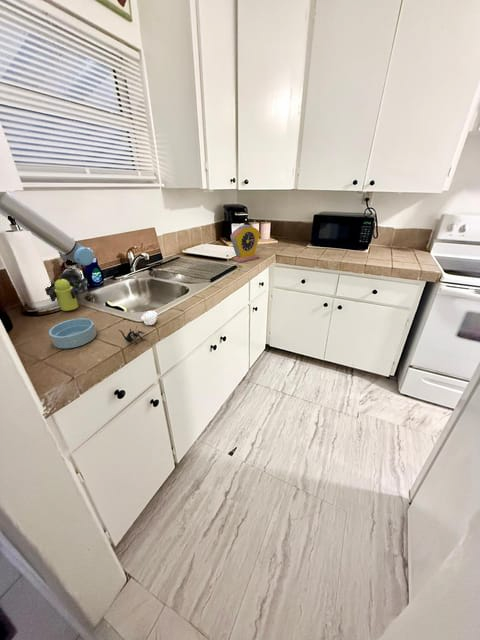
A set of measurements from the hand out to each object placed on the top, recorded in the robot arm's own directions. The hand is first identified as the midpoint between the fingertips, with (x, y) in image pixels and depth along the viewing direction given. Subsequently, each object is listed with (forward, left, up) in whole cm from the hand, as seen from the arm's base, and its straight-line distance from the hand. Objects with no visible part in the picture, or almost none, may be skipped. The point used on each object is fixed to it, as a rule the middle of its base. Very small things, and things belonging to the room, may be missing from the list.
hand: (62, 296), depth 96 cm
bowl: (+14, -16, -8) cm, 23 cm away
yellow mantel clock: (+58, +91, -8) cm, 108 cm away
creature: (+34, -14, -8) cm, 38 cm away
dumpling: (+33, -1, -8) cm, 34 cm away
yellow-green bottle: (-3, +4, -7) cm, 8 cm away
